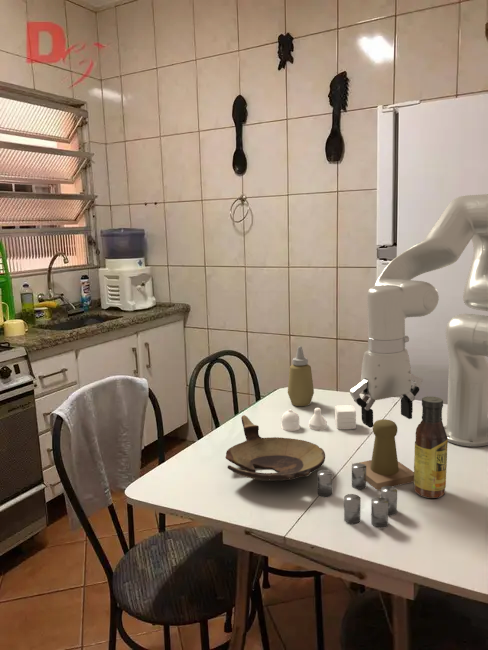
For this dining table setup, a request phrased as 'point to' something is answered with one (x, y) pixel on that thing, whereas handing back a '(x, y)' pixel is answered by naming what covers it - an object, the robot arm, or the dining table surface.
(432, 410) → the sauce bottle
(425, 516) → the dining table surface
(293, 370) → the squeeze bottle
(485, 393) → the robot arm
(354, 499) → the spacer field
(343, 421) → the container set
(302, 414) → the dining table surface
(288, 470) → the broken ceramic bowl
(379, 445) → the olive pawn
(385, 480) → the walnut board
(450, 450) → the dining table surface
